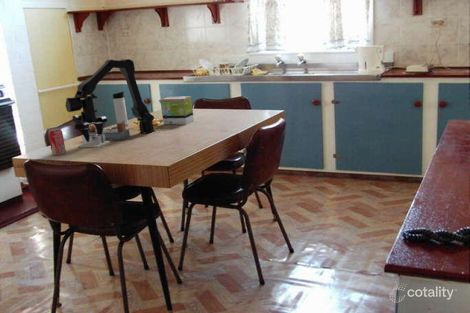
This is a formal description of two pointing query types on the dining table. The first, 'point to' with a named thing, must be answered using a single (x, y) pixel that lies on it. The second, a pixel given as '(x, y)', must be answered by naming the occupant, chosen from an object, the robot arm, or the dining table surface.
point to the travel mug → (120, 108)
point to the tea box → (177, 110)
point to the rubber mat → (93, 145)
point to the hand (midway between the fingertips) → (93, 139)
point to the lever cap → (95, 139)
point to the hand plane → (113, 132)
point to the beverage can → (56, 141)
